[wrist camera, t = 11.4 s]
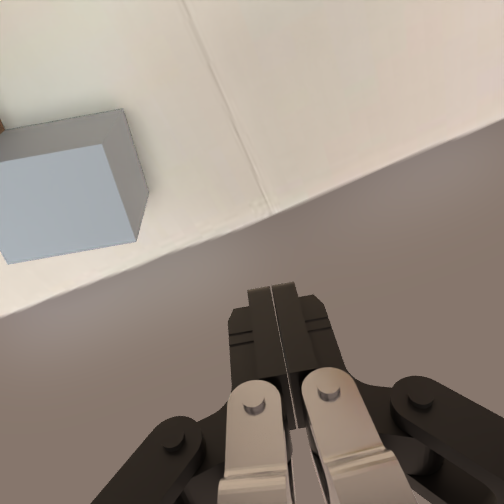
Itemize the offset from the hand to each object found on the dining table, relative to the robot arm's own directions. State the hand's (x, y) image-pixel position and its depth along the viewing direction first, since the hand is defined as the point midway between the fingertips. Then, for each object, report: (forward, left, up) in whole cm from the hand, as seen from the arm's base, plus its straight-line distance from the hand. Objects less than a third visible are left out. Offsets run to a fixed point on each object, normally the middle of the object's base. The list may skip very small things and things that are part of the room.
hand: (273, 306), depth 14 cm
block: (+2, -13, -24) cm, 27 cm away
